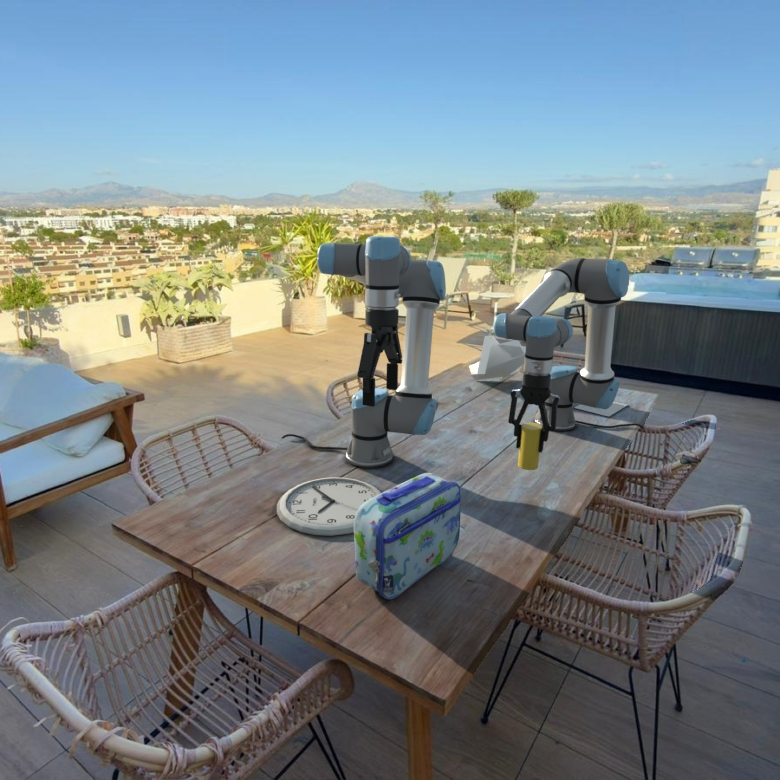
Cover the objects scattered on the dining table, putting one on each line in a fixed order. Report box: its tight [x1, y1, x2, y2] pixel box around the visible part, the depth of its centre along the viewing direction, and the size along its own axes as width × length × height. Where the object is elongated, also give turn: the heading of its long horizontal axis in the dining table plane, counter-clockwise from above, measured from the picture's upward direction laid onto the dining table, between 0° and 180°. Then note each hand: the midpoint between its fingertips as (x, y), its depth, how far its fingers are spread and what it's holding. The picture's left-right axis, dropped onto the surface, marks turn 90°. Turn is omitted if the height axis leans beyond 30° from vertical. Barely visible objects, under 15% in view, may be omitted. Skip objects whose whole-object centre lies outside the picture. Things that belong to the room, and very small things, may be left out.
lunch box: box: [353, 472, 462, 600], centre depth 112 cm, size 26×11×21 cm, turn 134°
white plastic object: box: [468, 335, 526, 381], centre depth 254 cm, size 37×45×31 cm
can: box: [517, 421, 543, 471], centre depth 153 cm, size 6×6×13 cm
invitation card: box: [573, 400, 629, 418], centre depth 226 cm, size 21×1×15 cm
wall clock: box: [276, 476, 383, 537], centre depth 142 cm, size 30×2×30 cm
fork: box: [432, 395, 439, 402], centre depth 223 cm, size 3×16×2 cm, turn 160°
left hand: (380, 397), depth 124 cm, fingers open, 13 cm apart
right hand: (529, 448), depth 153 cm, fingers closed on can, 6 cm apart
